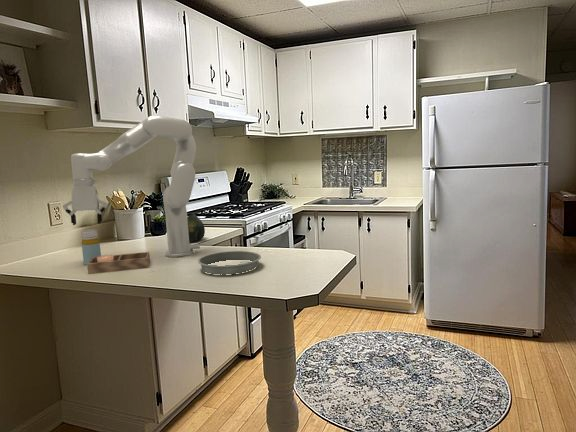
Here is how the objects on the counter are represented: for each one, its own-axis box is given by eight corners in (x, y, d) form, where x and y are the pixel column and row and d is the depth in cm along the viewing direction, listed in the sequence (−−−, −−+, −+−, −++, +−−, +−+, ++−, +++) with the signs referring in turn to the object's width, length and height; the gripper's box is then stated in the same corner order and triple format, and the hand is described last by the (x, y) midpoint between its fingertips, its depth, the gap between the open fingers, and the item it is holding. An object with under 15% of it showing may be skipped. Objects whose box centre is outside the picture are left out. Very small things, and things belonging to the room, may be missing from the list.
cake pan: (245, 279, 159) (244, 267, 158) (186, 275, 167) (185, 264, 166) (271, 262, 181) (270, 251, 181) (218, 259, 190) (217, 249, 189)
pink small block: (115, 266, 182) (114, 254, 181) (113, 269, 176) (112, 257, 175) (99, 267, 180) (98, 255, 180) (97, 271, 175) (95, 259, 174)
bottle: (90, 268, 184) (86, 233, 182) (80, 266, 188) (76, 232, 185) (105, 264, 190) (101, 230, 188) (95, 262, 194) (91, 229, 191)
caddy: (150, 263, 188) (149, 251, 187) (148, 270, 177) (147, 257, 176) (93, 269, 183) (92, 257, 182) (88, 276, 172) (87, 263, 171)
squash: (168, 234, 224) (186, 211, 223) (175, 230, 239) (192, 208, 238) (190, 251, 225) (208, 229, 224) (196, 246, 240) (213, 225, 239)
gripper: (107, 181, 189) (110, 221, 192) (62, 183, 185) (66, 224, 187) (104, 182, 182) (107, 223, 184) (58, 184, 178) (62, 226, 180)
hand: (87, 223), depth 186 cm, fingers open, 9 cm apart
